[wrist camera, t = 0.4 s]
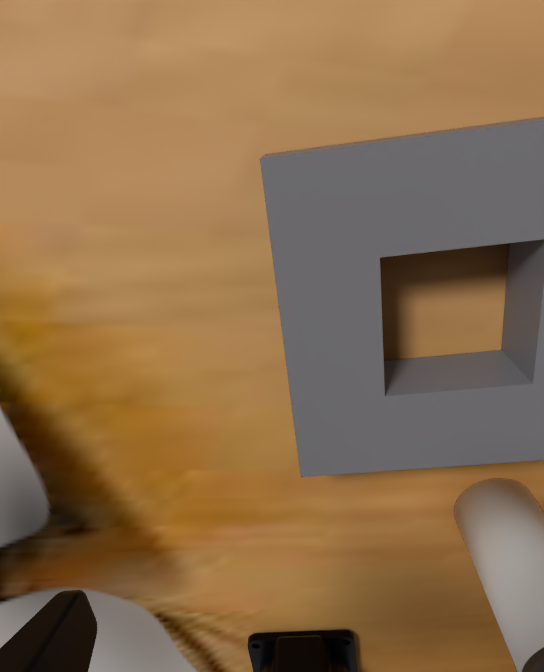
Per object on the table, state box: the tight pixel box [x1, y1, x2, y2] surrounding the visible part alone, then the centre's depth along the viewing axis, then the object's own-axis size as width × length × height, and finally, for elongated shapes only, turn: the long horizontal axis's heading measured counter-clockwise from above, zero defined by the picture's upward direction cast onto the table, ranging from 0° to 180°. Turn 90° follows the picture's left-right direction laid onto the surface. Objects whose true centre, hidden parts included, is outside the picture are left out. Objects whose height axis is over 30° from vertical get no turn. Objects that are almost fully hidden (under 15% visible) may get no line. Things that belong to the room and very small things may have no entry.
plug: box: [454, 478, 544, 672], centre depth 20 cm, size 4×4×9 cm
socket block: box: [260, 117, 544, 477], centre depth 18 cm, size 13×13×3 cm
